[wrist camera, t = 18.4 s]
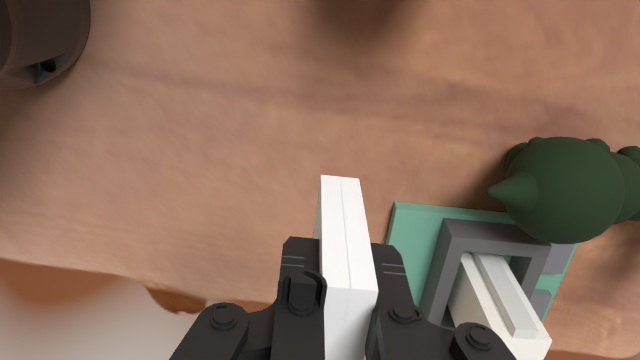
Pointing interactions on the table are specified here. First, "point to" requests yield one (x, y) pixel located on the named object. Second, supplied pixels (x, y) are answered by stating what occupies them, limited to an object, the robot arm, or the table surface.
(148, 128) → the table surface
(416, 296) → the board
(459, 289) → the plug
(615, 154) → the toy figurine
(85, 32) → the robot arm
